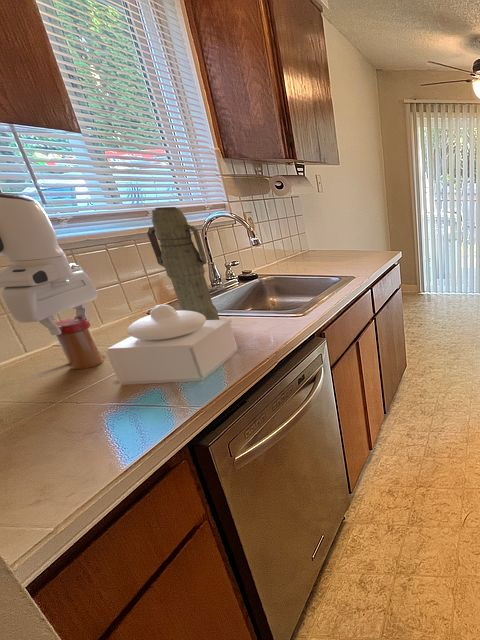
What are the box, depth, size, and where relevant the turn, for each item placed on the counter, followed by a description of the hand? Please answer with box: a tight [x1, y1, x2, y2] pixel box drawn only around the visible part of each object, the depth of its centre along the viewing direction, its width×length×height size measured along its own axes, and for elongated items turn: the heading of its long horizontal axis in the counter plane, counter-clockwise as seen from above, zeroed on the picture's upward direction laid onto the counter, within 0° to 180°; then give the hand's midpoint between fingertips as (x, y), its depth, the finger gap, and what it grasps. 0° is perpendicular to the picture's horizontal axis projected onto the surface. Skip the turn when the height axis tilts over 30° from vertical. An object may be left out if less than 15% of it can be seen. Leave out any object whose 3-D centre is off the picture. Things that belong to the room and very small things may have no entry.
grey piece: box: [146, 206, 221, 320], centre depth 112 cm, size 9×12×35 cm
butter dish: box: [105, 303, 239, 386], centre depth 94 cm, size 18×18×16 cm
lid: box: [54, 318, 91, 334], centre depth 95 cm, size 7×7×2 cm
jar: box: [55, 327, 104, 370], centre depth 97 cm, size 6×6×10 cm
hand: (71, 328), depth 95 cm, fingers closed on lid, 6 cm apart
